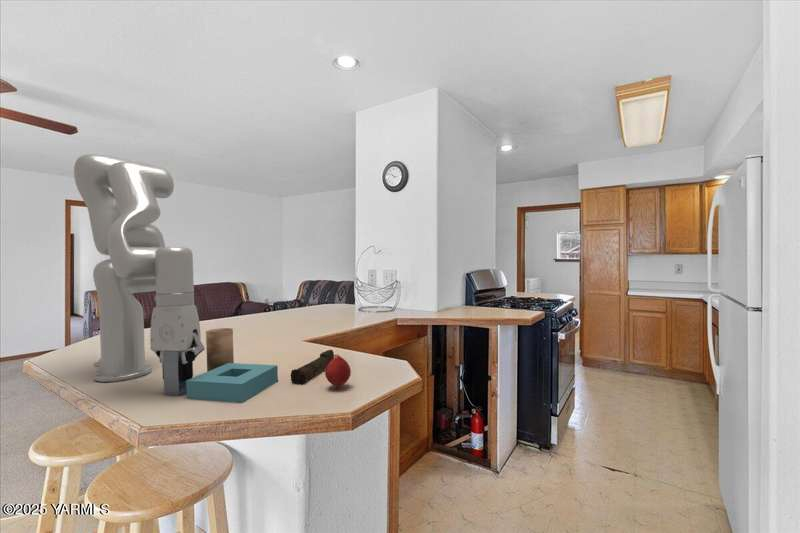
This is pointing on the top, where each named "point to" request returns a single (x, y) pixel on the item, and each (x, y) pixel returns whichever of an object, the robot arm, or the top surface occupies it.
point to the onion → (338, 371)
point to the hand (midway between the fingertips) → (178, 378)
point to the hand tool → (311, 368)
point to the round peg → (219, 347)
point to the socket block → (232, 382)
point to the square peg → (173, 374)
